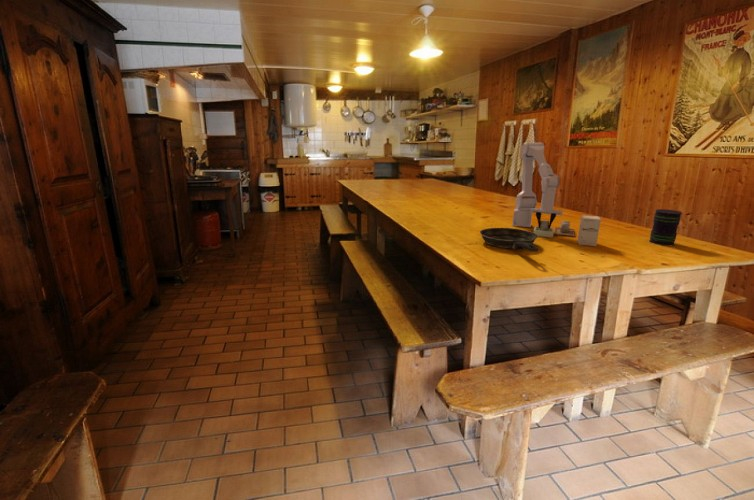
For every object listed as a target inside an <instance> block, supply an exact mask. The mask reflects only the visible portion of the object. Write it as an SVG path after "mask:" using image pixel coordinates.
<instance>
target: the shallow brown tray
mask: <svg viewBox="0 0 754 500" xmlns="http://www.w3.org/2000/svg"><path fill="white" fill-rule="evenodd" d="M560 228H561V226H560V227H559V226H555V227H554V233H553V236H559V237H570V238H575V228H571V227H569V233H562V232H560Z"/></svg>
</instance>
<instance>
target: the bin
mask: <svg viewBox="0 0 754 500" xmlns="http://www.w3.org/2000/svg"><path fill="white" fill-rule="evenodd" d="M532 233H535V234H536V235H537V236H538V237H543V238H549V239H550V238H552V239H553V237H554V233H555V227H554V228H552V227H550V229H548V231H541V230H540V228H538V226H534V227H533V232H532Z"/></svg>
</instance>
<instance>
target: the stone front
mask: <svg viewBox="0 0 754 500" xmlns="http://www.w3.org/2000/svg"><path fill="white" fill-rule="evenodd" d="M549 223H550V220H545V219H544V220H542V219H541V222H540V230H541V231H548V228H549Z"/></svg>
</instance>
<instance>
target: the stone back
mask: <svg viewBox="0 0 754 500" xmlns="http://www.w3.org/2000/svg"><path fill="white" fill-rule="evenodd" d="M563 222H565V223H570V224H571V221H569V220H561V221H560V223H563ZM560 229H561V227H560Z"/></svg>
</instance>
